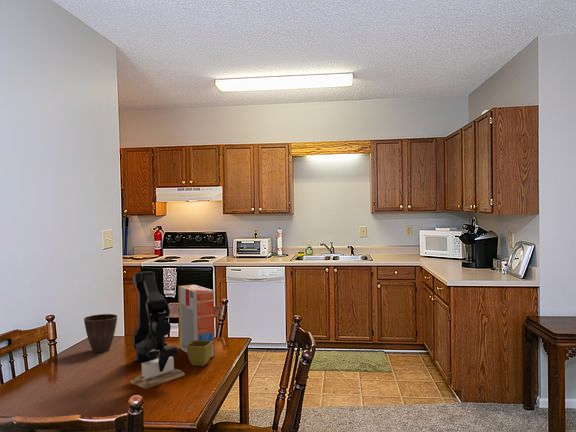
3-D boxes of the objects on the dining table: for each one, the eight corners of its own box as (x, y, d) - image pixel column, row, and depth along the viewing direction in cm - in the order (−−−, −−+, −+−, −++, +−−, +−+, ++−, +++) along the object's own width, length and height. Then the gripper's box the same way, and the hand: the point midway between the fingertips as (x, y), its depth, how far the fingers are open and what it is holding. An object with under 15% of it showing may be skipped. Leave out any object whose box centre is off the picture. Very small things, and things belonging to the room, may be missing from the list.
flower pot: (206, 368, 196) (205, 346, 196) (186, 367, 198) (186, 345, 198) (213, 361, 204) (213, 340, 204) (194, 360, 206) (194, 340, 206)
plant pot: (106, 344, 236) (105, 312, 236) (124, 348, 227) (123, 315, 227) (78, 351, 224) (77, 318, 224) (96, 356, 215) (95, 322, 215)
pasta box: (214, 356, 212) (213, 290, 211) (198, 360, 207) (196, 292, 207) (195, 345, 231) (194, 284, 231) (179, 348, 226) (178, 286, 226)
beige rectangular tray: (130, 383, 179) (130, 376, 179) (168, 370, 194) (168, 364, 194) (146, 388, 173) (145, 381, 173) (184, 375, 187) (184, 368, 187)
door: (141, 376, 180) (141, 363, 180) (167, 367, 189) (167, 355, 189) (148, 378, 178) (147, 365, 178) (173, 369, 187) (173, 357, 187)
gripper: (125, 331, 183) (125, 371, 183) (154, 338, 171) (155, 381, 171) (149, 326, 192) (150, 364, 192) (178, 332, 180) (179, 372, 180)
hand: (157, 370), depth 183 cm, fingers closed on door, 4 cm apart
